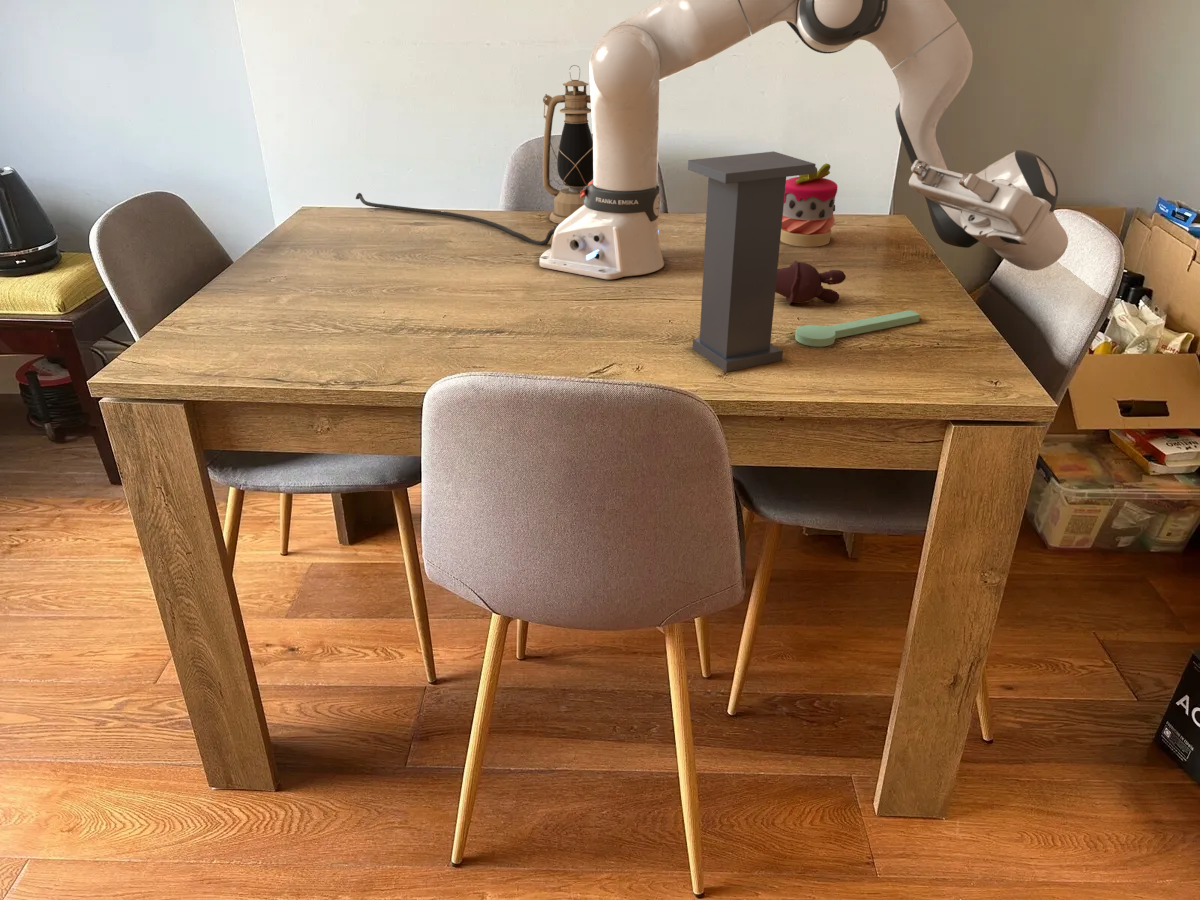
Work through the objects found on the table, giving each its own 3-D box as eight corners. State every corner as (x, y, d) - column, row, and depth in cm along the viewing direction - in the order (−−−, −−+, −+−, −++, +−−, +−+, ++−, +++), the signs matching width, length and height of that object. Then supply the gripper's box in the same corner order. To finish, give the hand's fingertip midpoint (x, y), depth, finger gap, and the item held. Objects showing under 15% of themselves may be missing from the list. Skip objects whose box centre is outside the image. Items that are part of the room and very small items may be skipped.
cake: (765, 238, 174) (772, 159, 166) (802, 229, 179) (810, 152, 172) (805, 250, 166) (815, 168, 159) (842, 240, 172) (853, 161, 164)
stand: (757, 336, 129) (773, 151, 116) (794, 358, 121) (815, 163, 109) (679, 351, 124) (687, 160, 111) (713, 374, 117) (726, 173, 104)
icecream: (751, 270, 135) (850, 282, 134) (751, 245, 140) (846, 256, 139) (744, 308, 140) (839, 319, 139) (744, 282, 145) (835, 293, 144)
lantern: (614, 211, 192) (614, 62, 178) (609, 225, 182) (609, 68, 168) (548, 210, 194) (543, 61, 179) (539, 224, 183) (533, 68, 169)
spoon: (901, 313, 136) (902, 306, 136) (927, 325, 132) (928, 318, 131) (787, 336, 129) (788, 328, 128) (810, 349, 124) (811, 341, 124)
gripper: (953, 178, 139) (901, 138, 131) (1061, 207, 122) (1009, 163, 115) (931, 215, 140) (878, 177, 133) (1036, 248, 124) (982, 208, 116)
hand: (940, 171), depth 123 cm, fingers open, 8 cm apart
